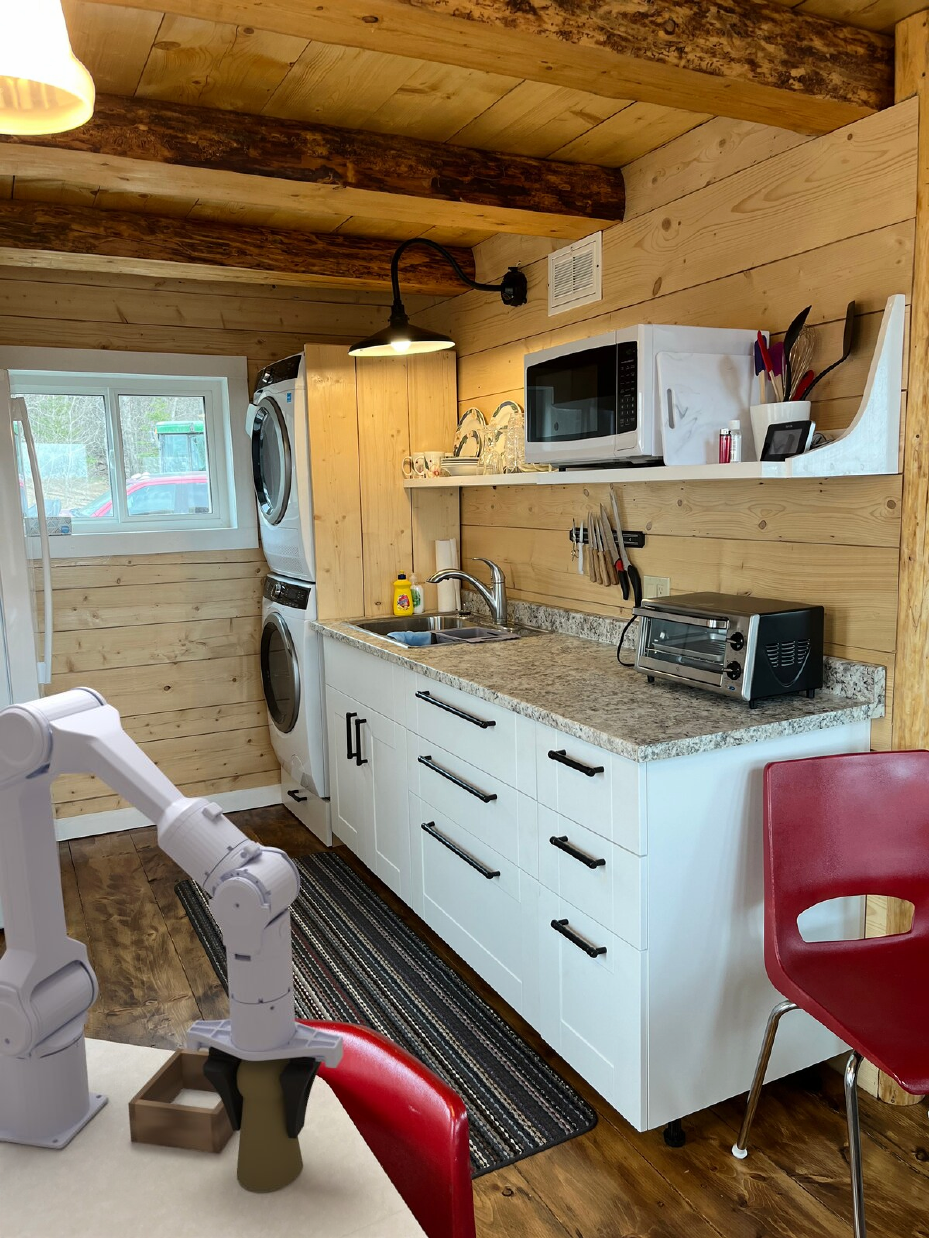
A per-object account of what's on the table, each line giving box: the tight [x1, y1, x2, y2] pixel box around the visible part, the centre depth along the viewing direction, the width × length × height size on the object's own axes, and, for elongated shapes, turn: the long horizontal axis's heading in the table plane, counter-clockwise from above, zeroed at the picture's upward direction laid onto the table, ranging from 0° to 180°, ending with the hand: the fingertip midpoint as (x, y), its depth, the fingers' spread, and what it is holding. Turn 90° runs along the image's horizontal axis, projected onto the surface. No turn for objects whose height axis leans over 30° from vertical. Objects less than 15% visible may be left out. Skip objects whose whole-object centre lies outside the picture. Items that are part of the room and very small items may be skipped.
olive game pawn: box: [236, 1058, 304, 1193], centre depth 86 cm, size 6×6×11 cm
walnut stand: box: [127, 1047, 236, 1154], centre depth 94 cm, size 9×9×4 cm
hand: (268, 1127), depth 86 cm, fingers closed on olive game pawn, 5 cm apart
